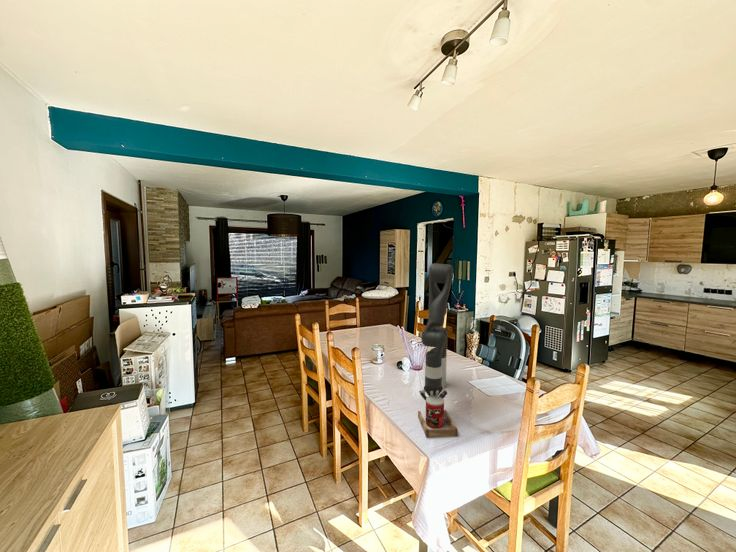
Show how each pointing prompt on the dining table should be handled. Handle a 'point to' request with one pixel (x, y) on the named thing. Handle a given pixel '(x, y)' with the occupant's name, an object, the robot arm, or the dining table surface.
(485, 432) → the dining table surface
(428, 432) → the corral
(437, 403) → the canned food
